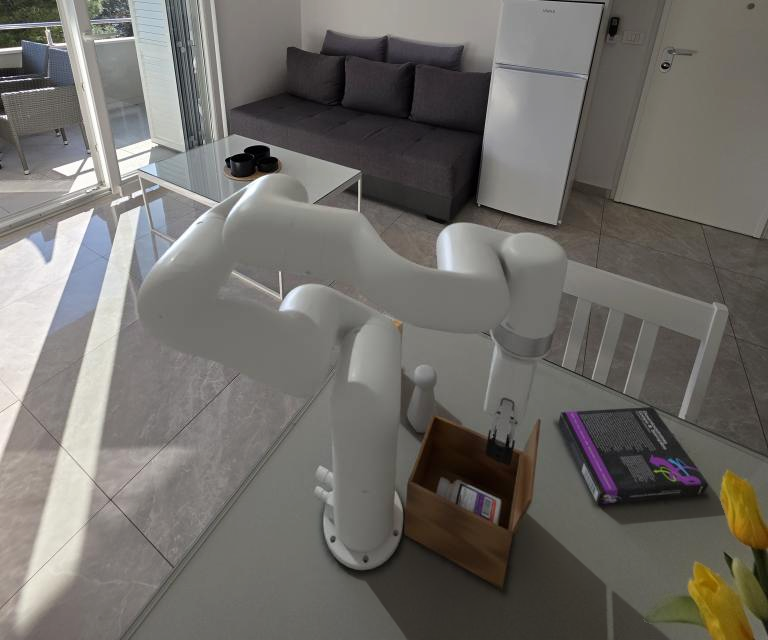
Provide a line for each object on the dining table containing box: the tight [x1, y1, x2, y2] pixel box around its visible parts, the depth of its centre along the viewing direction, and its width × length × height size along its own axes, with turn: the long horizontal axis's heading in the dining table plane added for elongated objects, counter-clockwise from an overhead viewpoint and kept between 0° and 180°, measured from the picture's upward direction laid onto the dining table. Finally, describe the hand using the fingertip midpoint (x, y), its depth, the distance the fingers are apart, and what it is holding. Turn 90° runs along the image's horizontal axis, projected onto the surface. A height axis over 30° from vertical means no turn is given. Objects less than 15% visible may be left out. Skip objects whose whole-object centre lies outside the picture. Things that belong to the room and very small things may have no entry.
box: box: [558, 406, 710, 505], centre depth 77 cm, size 14×4×20 cm
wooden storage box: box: [403, 414, 523, 590], centre depth 67 cm, size 15×12×12 cm
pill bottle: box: [436, 477, 502, 525], centre depth 67 cm, size 5×5×10 cm
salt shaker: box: [406, 364, 438, 434], centre depth 81 cm, size 6×6×13 cm
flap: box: [512, 418, 542, 534], centre depth 60 cm, size 7×12×1 cm
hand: (504, 425), depth 60 cm, fingers open, 9 cm apart
